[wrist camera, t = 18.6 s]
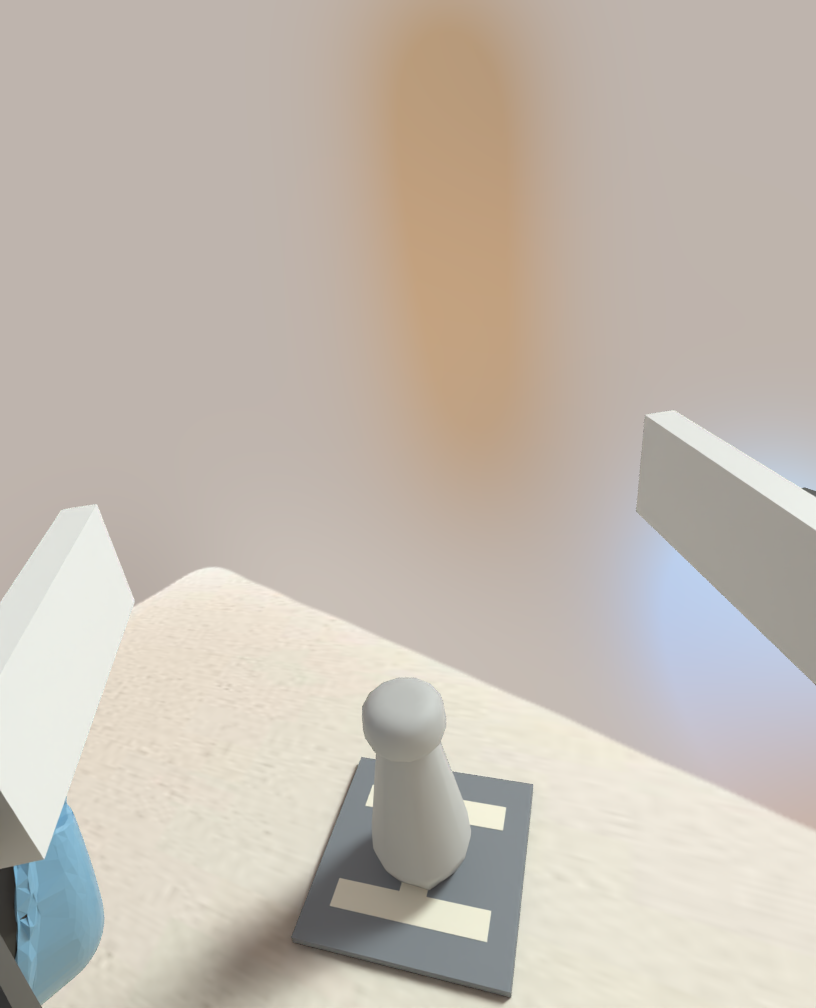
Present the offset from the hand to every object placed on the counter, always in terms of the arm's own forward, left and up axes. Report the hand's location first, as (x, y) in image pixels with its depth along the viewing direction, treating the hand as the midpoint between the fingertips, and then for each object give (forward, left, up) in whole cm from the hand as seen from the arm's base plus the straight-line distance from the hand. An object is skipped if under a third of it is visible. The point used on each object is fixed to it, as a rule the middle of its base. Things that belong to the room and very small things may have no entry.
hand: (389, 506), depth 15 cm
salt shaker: (-4, +9, -29) cm, 31 cm away
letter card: (-4, +9, -30) cm, 31 cm away
